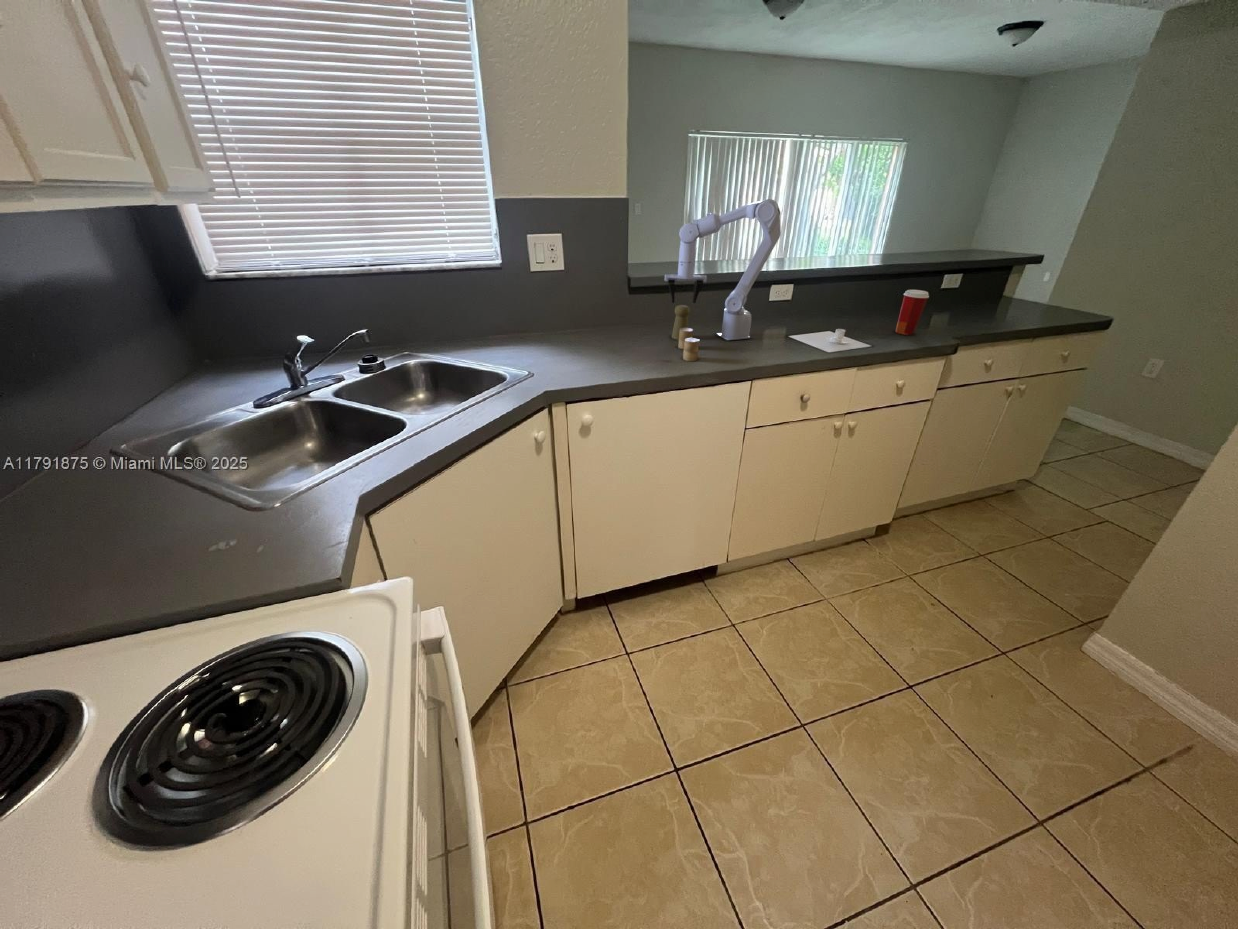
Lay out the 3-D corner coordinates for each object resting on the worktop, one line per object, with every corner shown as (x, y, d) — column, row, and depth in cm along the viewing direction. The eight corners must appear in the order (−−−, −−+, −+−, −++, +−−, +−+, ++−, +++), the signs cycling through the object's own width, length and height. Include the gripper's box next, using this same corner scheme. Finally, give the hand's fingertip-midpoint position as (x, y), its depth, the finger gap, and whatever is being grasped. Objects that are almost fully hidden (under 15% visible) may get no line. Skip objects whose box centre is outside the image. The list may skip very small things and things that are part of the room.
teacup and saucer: (836, 346, 167) (839, 334, 165) (819, 339, 173) (822, 328, 171) (855, 343, 170) (858, 331, 168) (837, 337, 176) (840, 326, 174)
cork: (688, 335, 175) (691, 304, 169) (688, 340, 170) (691, 308, 164) (671, 334, 175) (673, 303, 170) (671, 339, 170) (673, 307, 164)
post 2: (692, 356, 155) (694, 337, 152) (699, 360, 151) (701, 341, 148) (680, 357, 153) (682, 338, 150) (687, 361, 150) (688, 342, 147)
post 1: (687, 344, 165) (689, 327, 162) (693, 348, 161) (695, 330, 158) (675, 346, 163) (677, 328, 160) (681, 350, 160) (683, 331, 157)
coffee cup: (917, 332, 185) (931, 291, 177) (915, 337, 179) (929, 294, 171) (893, 328, 189) (905, 288, 181) (890, 333, 183) (903, 291, 175)
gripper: (705, 260, 171) (701, 300, 178) (664, 259, 170) (662, 299, 177) (709, 263, 165) (705, 304, 172) (666, 262, 164) (664, 303, 171)
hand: (683, 302), depth 174 cm, fingers open, 7 cm apart
